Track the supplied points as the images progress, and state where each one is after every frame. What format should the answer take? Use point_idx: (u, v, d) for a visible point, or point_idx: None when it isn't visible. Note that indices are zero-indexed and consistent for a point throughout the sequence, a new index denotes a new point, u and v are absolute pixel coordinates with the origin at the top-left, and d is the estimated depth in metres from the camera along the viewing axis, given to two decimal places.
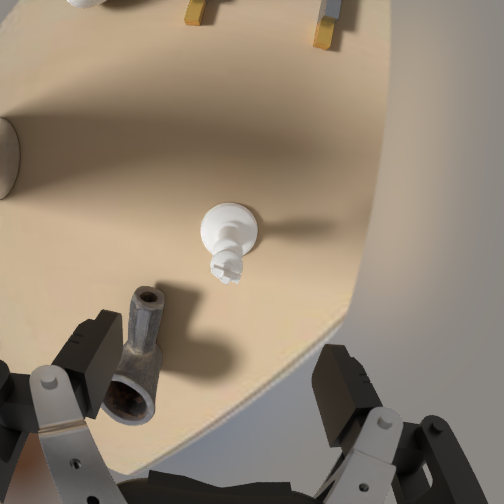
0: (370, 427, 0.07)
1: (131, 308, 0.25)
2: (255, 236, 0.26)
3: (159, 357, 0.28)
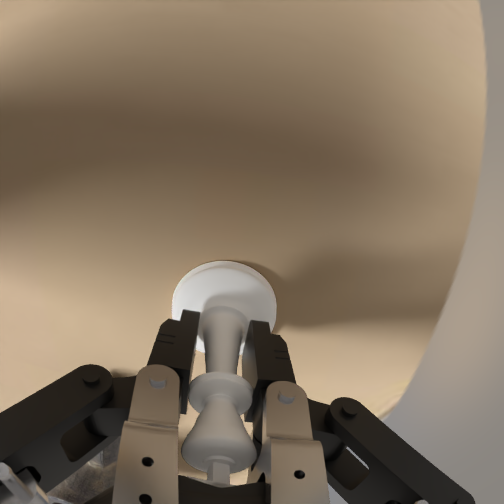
0: (274, 407, 0.07)
1: None
2: (273, 322, 0.14)
3: None
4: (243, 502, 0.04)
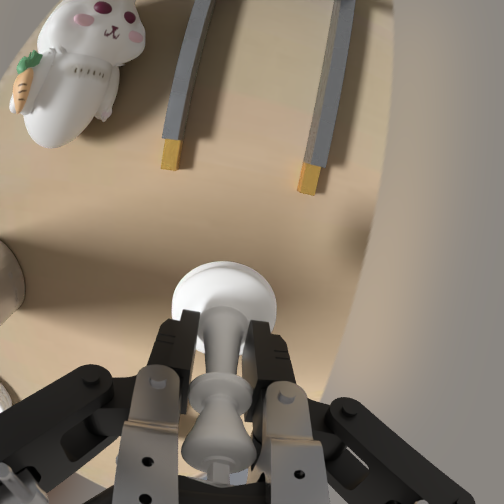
0: (274, 407, 0.07)
1: None
2: (273, 323, 0.14)
3: None
4: (243, 502, 0.04)
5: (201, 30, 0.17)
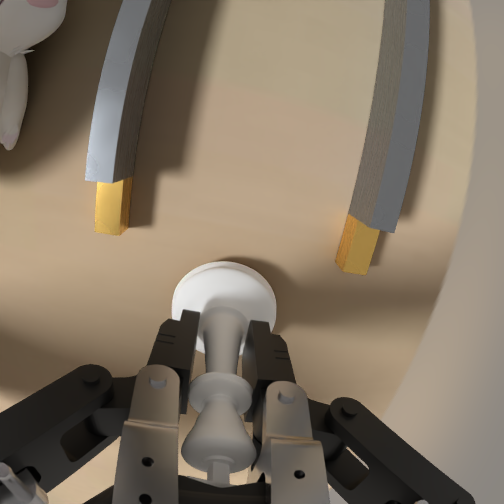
0: (274, 407, 0.07)
1: None
2: (273, 323, 0.14)
3: None
4: (243, 502, 0.04)
5: None
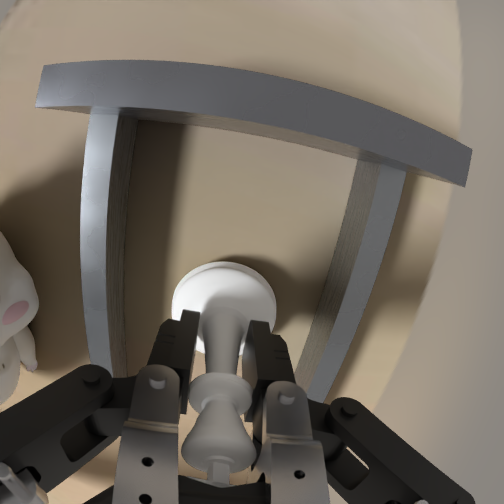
0: (274, 407, 0.07)
1: None
2: (273, 323, 0.14)
3: None
4: (243, 502, 0.04)
5: (105, 294, 0.12)
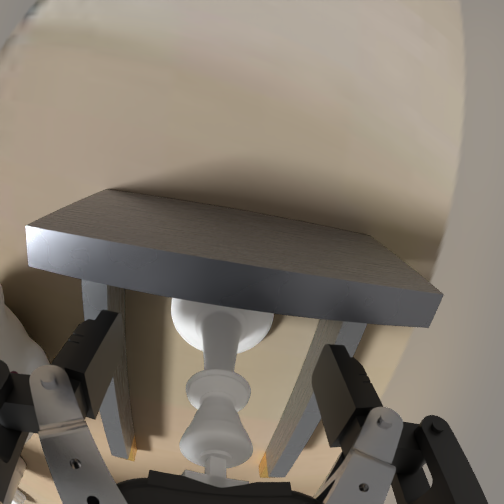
0: (370, 427, 0.07)
1: None
2: (270, 321, 0.14)
3: None
4: (303, 497, 0.05)
5: None
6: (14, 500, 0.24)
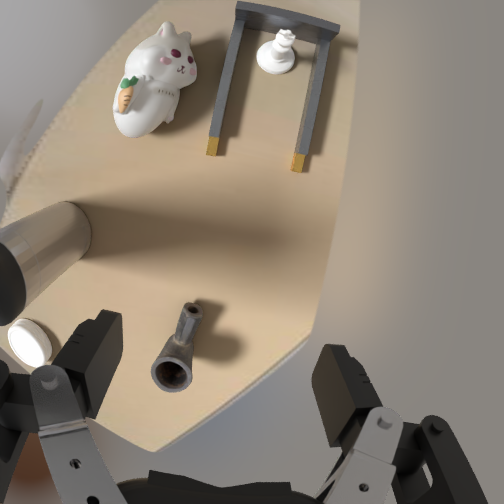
0: (370, 427, 0.07)
1: (181, 316, 0.41)
2: (293, 59, 0.32)
3: (192, 347, 0.45)
4: (303, 497, 0.05)
5: (232, 69, 0.31)
6: (41, 345, 0.43)
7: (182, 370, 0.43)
